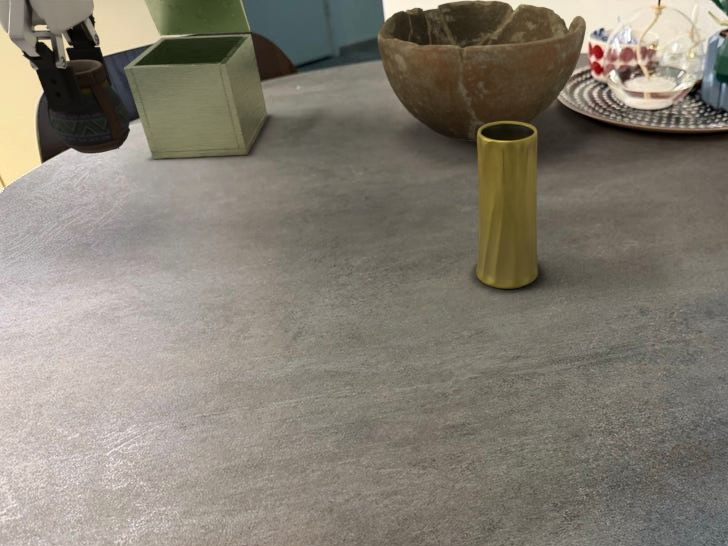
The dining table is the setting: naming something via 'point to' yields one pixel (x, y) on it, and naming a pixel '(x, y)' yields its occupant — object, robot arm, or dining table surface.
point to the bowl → (478, 63)
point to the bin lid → (198, 16)
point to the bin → (198, 95)
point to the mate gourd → (92, 113)
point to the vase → (507, 204)
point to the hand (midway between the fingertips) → (82, 97)
